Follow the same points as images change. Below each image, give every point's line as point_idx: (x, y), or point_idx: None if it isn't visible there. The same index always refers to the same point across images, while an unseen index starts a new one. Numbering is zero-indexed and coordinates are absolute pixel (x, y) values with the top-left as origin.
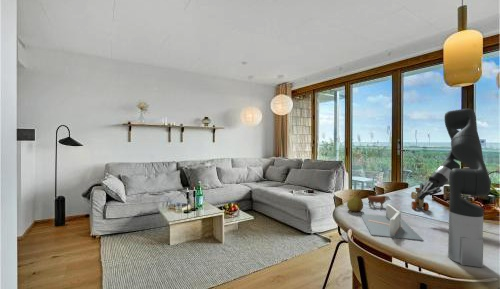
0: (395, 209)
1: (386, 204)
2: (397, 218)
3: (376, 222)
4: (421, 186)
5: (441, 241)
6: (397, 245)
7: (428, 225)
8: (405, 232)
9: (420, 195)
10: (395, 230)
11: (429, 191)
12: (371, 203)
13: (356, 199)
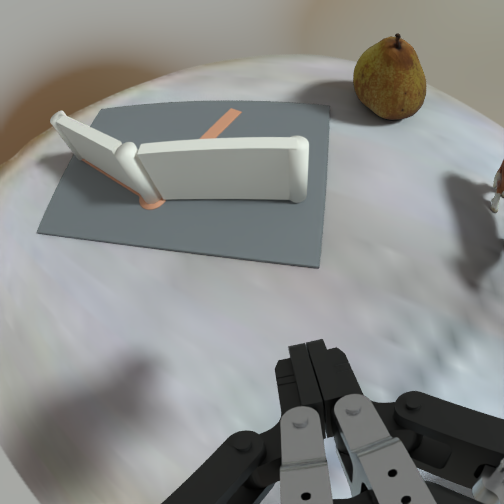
0: (173, 147)
1: (299, 136)
2: (91, 145)
3: (207, 132)
4: (476, 436)
5: (27, 293)
6: (39, 156)
7: (191, 371)
8: (94, 200)
9: (299, 362)
10: (91, 160)
11: (219, 455)
12: (498, 181)
13: (369, 53)
